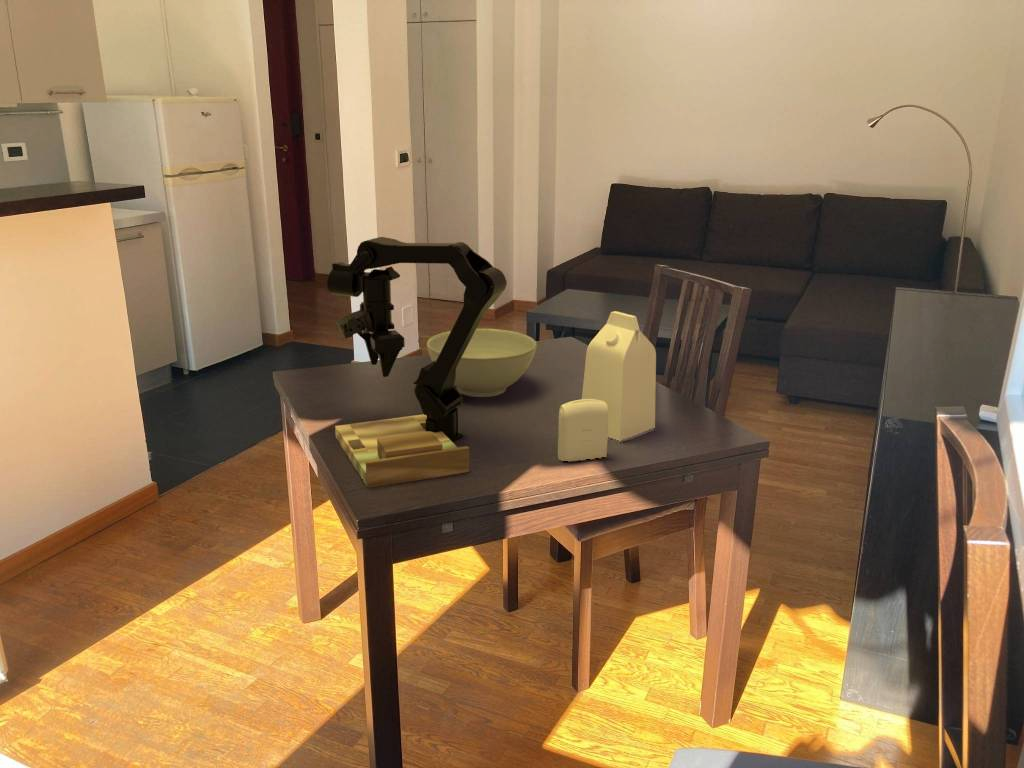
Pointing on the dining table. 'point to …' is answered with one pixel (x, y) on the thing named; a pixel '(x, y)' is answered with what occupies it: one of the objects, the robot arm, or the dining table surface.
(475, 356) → the decorative bowl
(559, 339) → the dining table surface
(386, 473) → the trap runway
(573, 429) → the photo printer
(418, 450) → the walnut block
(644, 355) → the milk
